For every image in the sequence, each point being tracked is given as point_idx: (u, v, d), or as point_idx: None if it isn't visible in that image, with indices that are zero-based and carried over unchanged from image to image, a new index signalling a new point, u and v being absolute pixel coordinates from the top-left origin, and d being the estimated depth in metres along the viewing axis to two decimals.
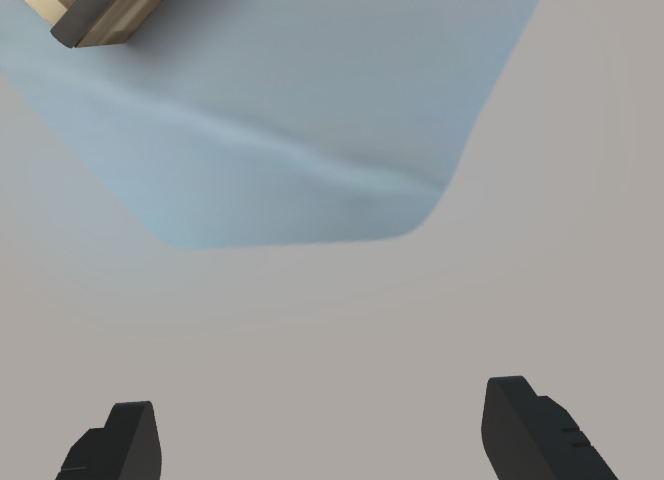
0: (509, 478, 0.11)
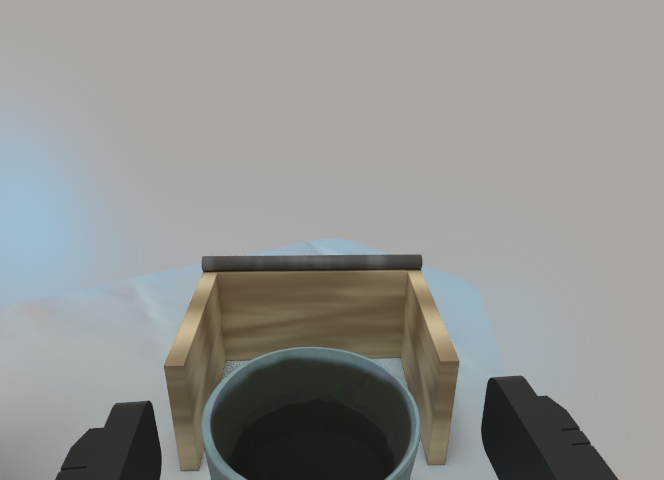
0: (509, 478, 0.11)
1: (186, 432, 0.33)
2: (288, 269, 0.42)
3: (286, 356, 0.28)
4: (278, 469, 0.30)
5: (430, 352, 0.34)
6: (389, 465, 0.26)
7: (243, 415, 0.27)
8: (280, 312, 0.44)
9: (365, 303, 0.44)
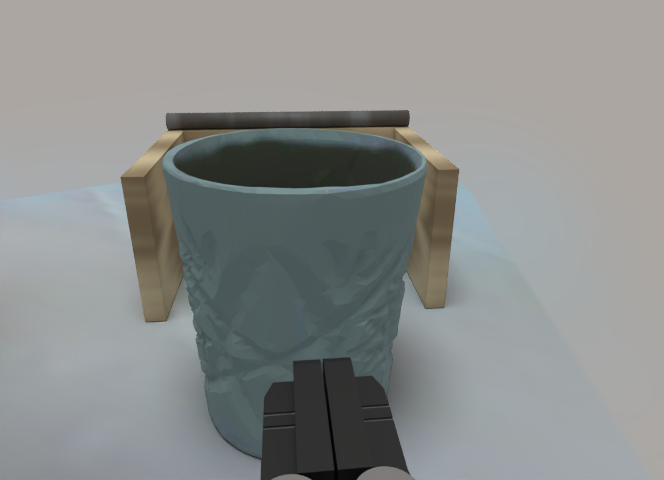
0: None
1: (150, 268, 0.29)
2: (263, 127, 0.38)
3: (264, 136, 0.24)
4: None
5: None
6: None
7: None
8: None
9: None
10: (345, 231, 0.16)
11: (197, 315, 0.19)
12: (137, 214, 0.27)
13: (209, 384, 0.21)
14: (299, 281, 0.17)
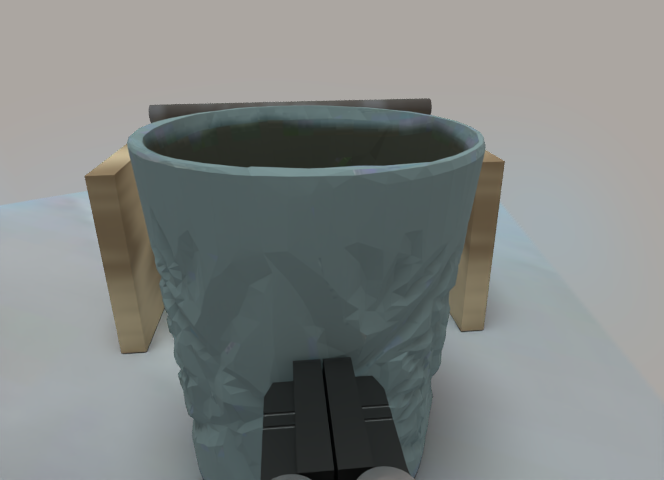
0: None
1: (125, 289, 0.23)
2: None
3: (267, 116, 0.19)
4: None
5: None
6: None
7: None
8: None
9: None
10: (379, 231, 0.11)
11: (177, 345, 0.14)
12: (107, 222, 0.22)
13: (196, 432, 0.16)
14: (313, 302, 0.12)
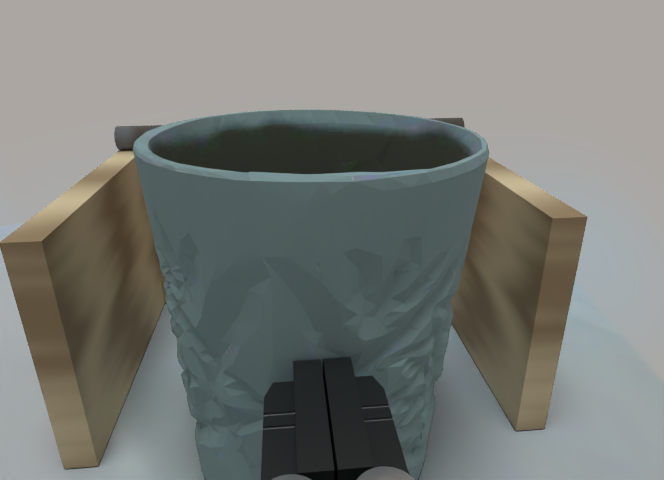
0: None
1: (64, 389, 0.17)
2: None
3: (274, 120, 0.19)
4: None
5: (515, 224, 0.19)
6: None
7: None
8: None
9: None
10: (378, 237, 0.11)
11: (179, 346, 0.15)
12: (35, 304, 0.16)
13: (198, 432, 0.17)
14: (312, 307, 0.12)
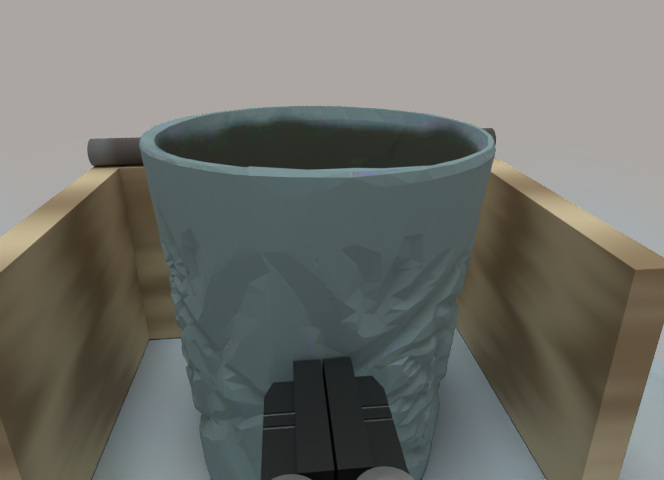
0: None
1: None
2: None
3: (284, 116, 0.19)
4: None
5: (574, 268, 0.15)
6: None
7: None
8: None
9: None
10: (377, 233, 0.11)
11: (183, 339, 0.15)
12: None
13: (202, 425, 0.17)
14: (310, 302, 0.12)
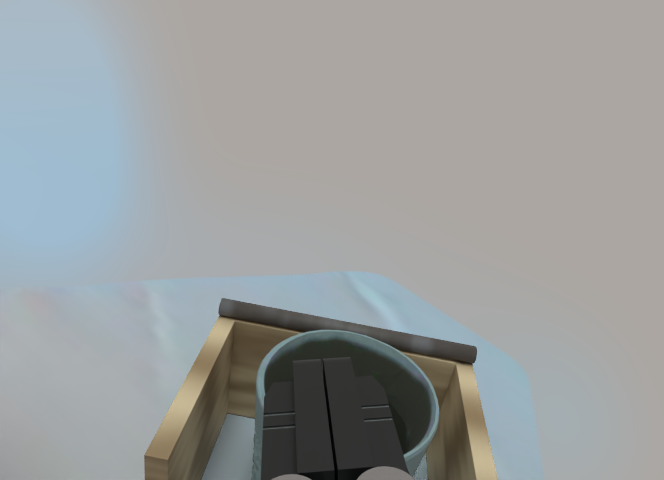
0: None
1: None
2: None
3: (338, 336, 0.32)
4: None
5: None
6: (403, 453, 0.30)
7: (291, 375, 0.31)
8: None
9: None
10: None
11: (254, 473, 0.28)
12: None
13: None
14: None
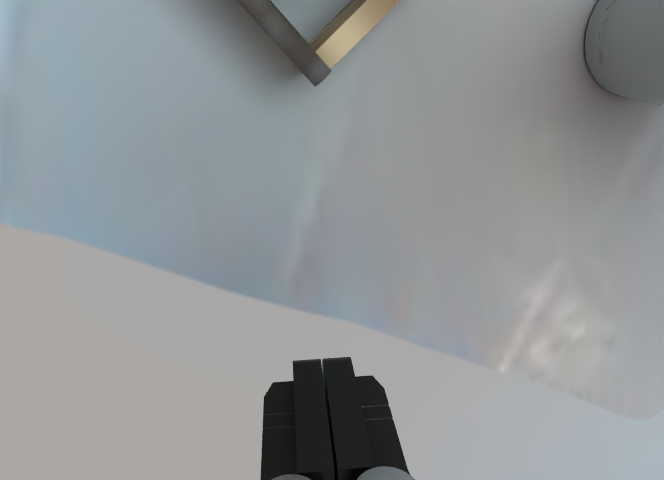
0: None
1: None
2: None
3: None
4: None
5: None
6: None
7: None
8: None
9: None
10: None
11: None
12: None
13: None
14: None
